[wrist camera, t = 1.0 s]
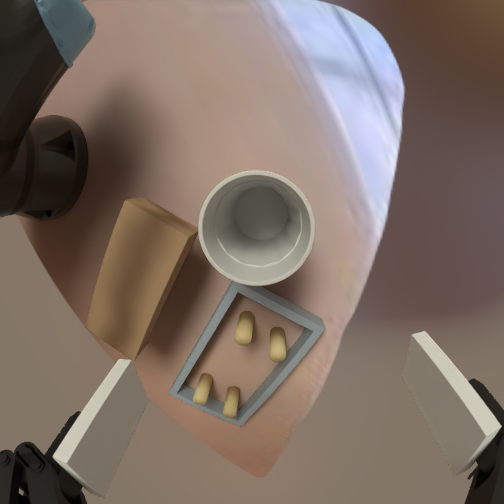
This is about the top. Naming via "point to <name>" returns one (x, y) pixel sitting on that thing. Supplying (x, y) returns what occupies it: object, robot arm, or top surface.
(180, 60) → the top surface
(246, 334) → the frame
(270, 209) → the cup
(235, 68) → the top surface
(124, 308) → the board
